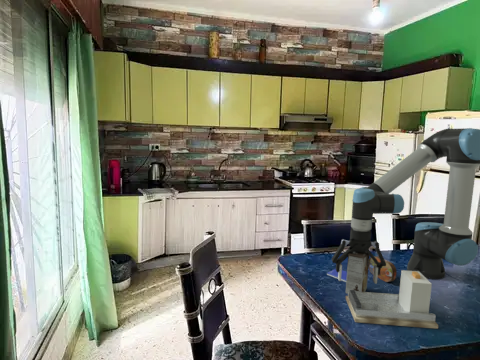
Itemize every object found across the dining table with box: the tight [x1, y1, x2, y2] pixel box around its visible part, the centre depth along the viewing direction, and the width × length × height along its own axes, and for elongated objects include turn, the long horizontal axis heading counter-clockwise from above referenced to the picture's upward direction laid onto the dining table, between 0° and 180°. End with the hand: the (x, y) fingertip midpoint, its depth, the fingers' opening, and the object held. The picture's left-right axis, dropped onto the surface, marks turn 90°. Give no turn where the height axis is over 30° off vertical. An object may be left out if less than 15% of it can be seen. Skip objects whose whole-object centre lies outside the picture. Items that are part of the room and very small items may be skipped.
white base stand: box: [347, 290, 437, 323], centre depth 118 cm, size 25×13×4 cm, turn 84°
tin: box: [368, 255, 398, 283], centre depth 146 cm, size 15×3×8 cm, turn 18°
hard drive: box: [326, 268, 347, 283], centre depth 147 cm, size 2×8×12 cm
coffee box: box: [345, 252, 370, 295], centre depth 132 cm, size 9×6×16 cm
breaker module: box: [398, 269, 433, 313], centre depth 116 cm, size 6×10×13 cm, turn 174°
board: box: [345, 295, 439, 330], centre depth 118 cm, size 26×16×1 cm, turn 84°
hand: (357, 281), depth 133 cm, fingers open, 13 cm apart
